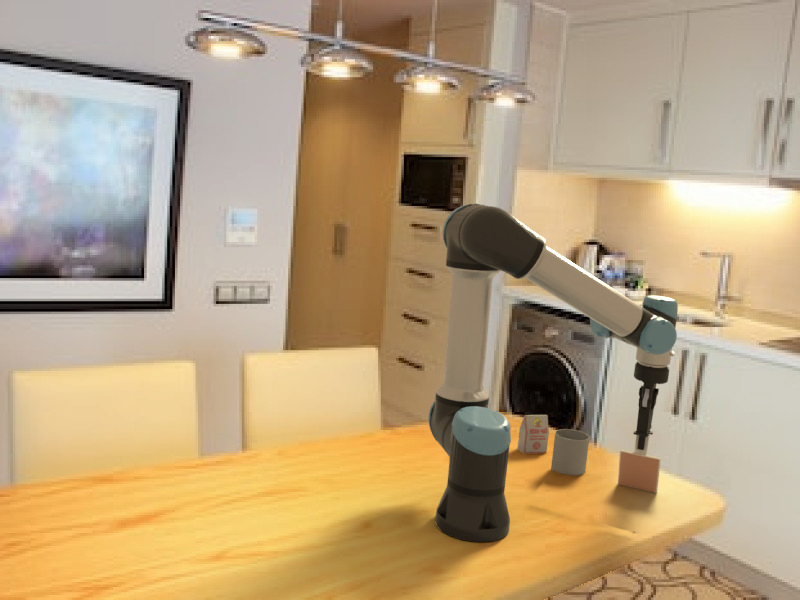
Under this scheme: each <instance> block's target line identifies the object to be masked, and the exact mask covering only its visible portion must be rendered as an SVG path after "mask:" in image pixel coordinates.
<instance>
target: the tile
mask: <svg viewBox="0 0 800 600" xmlns="http://www.w3.org/2000/svg"><path fill="white" fill-rule="evenodd" d="M619 450H620V451H619V463H618V475H617V476H618V477H617V485H620V486H624V487H628V488H632V489H633V488H634V489H637V490H641V491H646V492H650V493H653V494H654V493H655V494H657V493H658V487H659V481H660V480H659V478H660V468H661V460H662V459H661V458H662V457H659V456H654V455H649V454H647V455H645V454H641V453H636V452H634V451H630V450H626V449H619Z"/></svg>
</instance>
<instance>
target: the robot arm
mask: <svg viewBox="0 0 800 600" xmlns="http://www.w3.org/2000/svg"><path fill="white" fill-rule="evenodd" d="M442 239H443V243H444V245H445V247H446V260H445V268H446V269H447V270H448V272H449V273H450V274H451V286H450V299H449V312H448V323H447V334H446V335H447V336H446V337H447V338H446V348H445V350H446V351H445V359H444V360H445V362H444V372H443V373H444V374H443V375H444V376H443V383H442V384H441V385H440V386H438V387H437V388H436V390H435V400H434V401H433V402H432V404H431V406H430V407H429V408H430V409H429V411H428V417H427V418H428V426H429V430H430V432H431V434H432V437H433V438H434V440H435V441H436V443H438V444H439V445H440V447H441V448H442V449H443V450H444V452H445V453H446V454H447V455H448V457H449V463H448V471H447V483H446V487H445V489H444V492H443V494H442V496H441V498H440V501H439V503H438V505H437V507H436V511H435V517H434V518H435V520H434V521H435V522H436V523H435V525H436V524H437V525H436V527H437V526H438V527H439V528H440V529H441V530H442V531H441V530H440V529H439V528H438V527H437V528H438V529H439V530H440V531H441V532H443V533H444V532H445V533H444V534H446V535H448V536H450V537H452V536H453V537H452V538H455V537H456V538H455V539H458V540H462V541H468V542H472V543H473V542H475V543H487V542H488V543H489V542H495V541H499V540H501V539H503V538H505V537H506V536H507V535H508V534H509V532H510V524H511V519H510V518H511V517H510V513H509V509H508V503H507V499H506V495H505V490H506V489H505V488H506V479H507V473H508V472H507V471H508V464H509V463H508V462H509V455H510V445H511V443H512V442H511V441H512V440H511V439H512V436H511V423H510V422H509V420H508V418H507V417H506V416H505V415H504V414H502V413H501V412H499V411H496V410H493V409H491V408H489V405H490V404H489V403H490V393H489V392H488V391H487V389H486V388H485V387H484V382H485V381H484V379H485V369H486V368H485V366H486V357H487V356H486V355H487V346H488V345H487V343H488V336H489V335H488V333H489V323H490V310H491V301H492V299H491V298H492V288H493V279H494V278H495V276H497V274H499V273H500V272H503V273H506V274H507V275H510V276H512V277H513V278H514V279H516V280H522V279H526V280H528V281H529V282H531V284H534V285H535V286H537V287H539V288H541V289H542V290H543V291H546V292H547V293H549V294H550V295H552V296H554V298H557V299H559V300H560V301H562V302H564V303H565V304H567V305H568V306H570V307H572V308H573V309H575V310H576V311H578V312H579V313H581V314H583V315H585V316H586V317H587V318H589V325H590V329H591V333H592V334H593V335H594V336H596V337H598V338H605V339H609V338H610V339H611V338H612V339H617V340H619V341H621V342H624V343H626V344H628V345H631V346H633V347H635V348H636V354H635V359H636V362H635V363H634V372H633V377H634V379H636V380H637V381H640V382H642V383H643V385H642V384H641V386H640V387H639V390H638V396H639V397H638V403H637V405H638V413H637V422H636V430H634V431H633V435H636V437H635V444H634V451H633V452H636V453H641V454H645V455H648V448H649V440H650V436H651V435H652V436H653V434H654V431H651V429H652V428H653V427H652V423H653V416H654V410H655V406H656V404H657V397H658V395H659V391H660V388H659V387H657V385H664V384H667V383H668V381H669V375H670V366H669V365H671V360H672V357H675V352H674V351H672V350H673V347H674V346H675V344H676V341H677V334H678V333H677V329H676V326H677V325H676V324H677V320H678V310H679V309H678V308H679V307H678V306H679V303H678V301H677V300H676V299H674V298H671V297H668V296H662V295H645V297H644V298H643V302H642V304H639V303H636V302H635V301H634V300H632V299H630V298H629V297H627V296H626V295H624V294H622V293H621V292H620V291H618V290H616V289H615V288H613V287H611V286H610V285H608V284H607V283H605V282H604V281H602V280H601V279H599V278H597V277H596V276H594V275H593V274H591V272H590V273H589V272H588V271H586V270H585V269H583V268H582V267H580V266H578V264H575V263H574V262H572V261H571V260H570V259H568V258H566V257H565V256H563V255H561V254H560V253H559V252H557V251H555V250H554V249H552V248H550V247H549V246H547V245H546V244H547V243H546V239H545V238H544V237H543V236H542V235H540V234H539V233H537V232H536V231H534V230H533V229H532V228H530V227H528V226H527V225H526V224H524V223H523V222H522V221H520V220H519V219H518V218H516V216H514V215H512V214H511V213H510V212H508V211H506V210H505V209H503V208H500V207H497V206H492V205H491V206H490V205H489V206H488V205H485V204H481V203H469V204H464V205H460V206H459V207H457V208H455V209H454V210H453V211H452V212H450V214H449V215H448V216H447V217H446V219H445V221H444V224H443V227H442Z"/></svg>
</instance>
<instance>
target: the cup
mask: <svg viewBox="0 0 800 600" xmlns="http://www.w3.org/2000/svg"><path fill="white" fill-rule="evenodd" d="M553 440H554V441H553V449H552V455H551V456H552V457H551V458H552V459H551V465H550V466H551V467H550V473H552V472H553V471H555V472H557V473H559V474H562V475H567V476H582V475H583V474H585V473H586V472H587V471H586V469H587V461H588V453H589V446H590V445H589V444H590V435H589V434H587V433H586V432H583V431H581V430H577V429H576V430H575V429H568V428H563V429H562V428H561V429H557V430H555V432H554V439H553Z"/></svg>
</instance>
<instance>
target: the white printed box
mask: <svg viewBox="0 0 800 600" xmlns="http://www.w3.org/2000/svg"><path fill="white" fill-rule="evenodd" d="M549 432H550V429H549V416H548V414H525V415H523V418H522V422H521V423H520V426H519V431H518V441H517V450H518V451H519V452H521V454H523V455H529V454H530V455H531V454H547V452H548V445H549V444H548V442H549V434H550V433H549Z"/></svg>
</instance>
